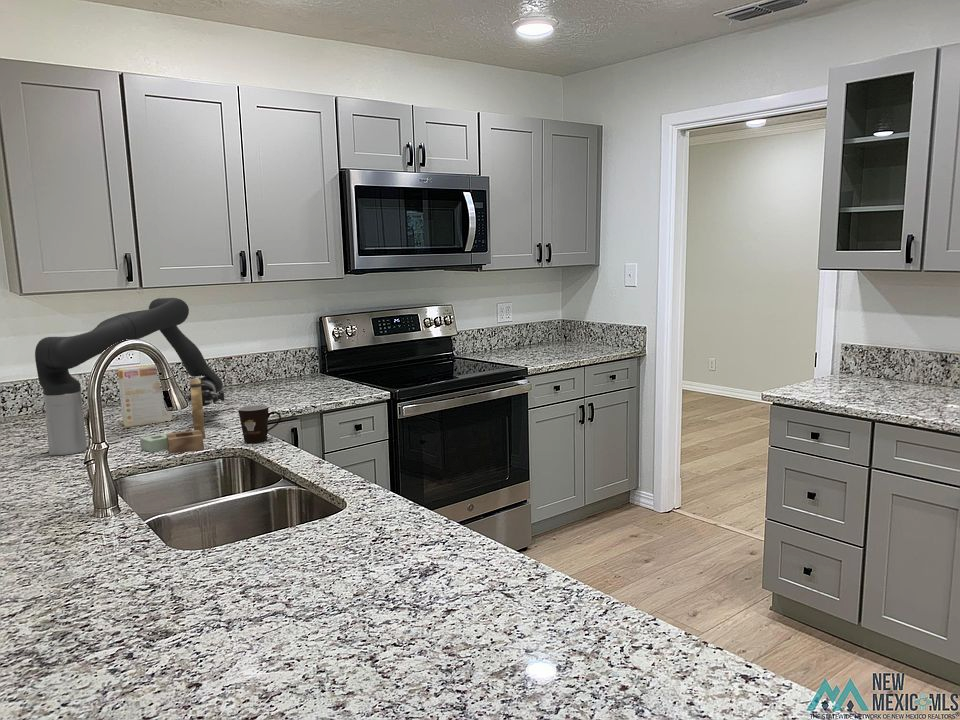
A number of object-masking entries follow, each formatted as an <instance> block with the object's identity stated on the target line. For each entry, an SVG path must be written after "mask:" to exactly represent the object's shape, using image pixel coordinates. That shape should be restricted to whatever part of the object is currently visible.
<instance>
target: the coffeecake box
mask: <svg viewBox="0 0 960 720" xmlns="http://www.w3.org/2000/svg"><path fill="white" fill-rule="evenodd" d="M117 377H118V388H119V395H120V396H119V398H120V399H119V400H120V408H121V416H122V423H123V426H124V427H125V428H128V427H137V426H143V425H144V426H146V425H151V424H152V423H153V424H160V423H166V422H165V421H168V422H172V421H171V420H173V419H174V418H173V410H172V411H167V410H166V408H165V405H164V401H163V397H162V391H161V388H160V384H159V379H158V376H157V369H156V366H155V364H148V365H136V366H128V367H127V366H126V367H117ZM153 424H152V425H153Z"/></svg>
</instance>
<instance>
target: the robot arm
mask: <svg viewBox="0 0 960 720" xmlns="http://www.w3.org/2000/svg"><path fill="white" fill-rule="evenodd" d="M189 313H190V309H189V306H188V304H187V303H186V302H185V301H184V300H183V299H181V298H177V297H162V298H160V297H159V298H154V299H153V300H152V301H151V302H150V303H149V306H148V309H144V310H137V311H136V310H135V311H130V312H125V313H121V314H118V315H115V316H112V317H110V318H107V319H105V320H103V321H101V322H100V323H99V324H97V325H96V327H94V328H93V329H92V330H90V331H88V332H83V333H80V334H76V335H73V336H46V337H43V338H41V339H40V340H39V341H38V343H37V344H36V346H35V351H34V359H35V360H34V361H35V367H36V371H37V372H36V373H37V377H38V378H37V379H38V382H39V384H40V387H41V388H42V391H43V398H44V406H45V407H44V408H45V417H46V422H45V424H46V432H47V433H46V435H47V443H48V451H49V456H65V455H73V454H77V453H82V452H85V451H87V450H88V446H87V445H88V443H87V442H88V441H87V437H86V427H85V426H86V425H85V418H84V408H83V405H84V404H83V397H82V396H83V395H82V389H81V382H80V381H79V380H77V379H76V378H74V377H73V376H72V375H71V374H70V370H71V369H74V368H76V367H78V366H80V365H81V364H83V363H85V362H87V361H90V360H91V359H93V358H95V357H96V356H98V355H101V354H103V353H102V352H103V351H104V350H106V349H107V348H108V347H110V346H111V345H113V344H115V343H117V342H120V341H122V340H126V339H138V340H140V339H143V338H144V337H147V336H149V335H151V334H154V333H156V332H158V331H160V333H161V334H162V335H163V337H164V338H165V339H166V341H167V342H168V343H169V345H170V346H171V347H172V348H173V350H174V351H175V353H176V354H177V356H178V357H179V359H180V361H181V363H182V365H183V367H184V368H185V371H186V373H188V375H189V376H190V377H196V378H197V377H200V378H199V379H200V381H201V393H202V404H203V407H207V406H209V405H211V404H212V403H213V404H216V403H217V402H219V400H220V402H224V401H225V400H226V399H225V390H222V389H223V387H224V383H223V381H222V378H220V376H219V375H218V374H217V373H216V372H215V371H214V370H212V368H211V367H210V366H209V365H208V363H207V361H206V359H205V357H204V356H203V354H202V352H201V350H200V348H199V347H198V346H197V345H196V344H195V343H194V342H193V341H192V340H191V339H190V338H189V337H187V336H186V335H185V334H184V332H182V331H181V330H180V329H179V327H178V326H179V325H181V324H183V323H184V322H185V321H186V320H187V319H188V317H189V315H190V314H189ZM184 396H185V397H186V399H187V401H188V403H189V404H188V405H192V401H191V392H189V393H187V394H186V395H184Z"/></svg>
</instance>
